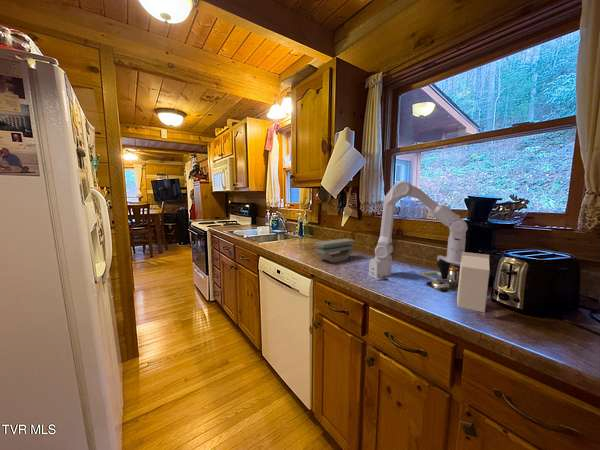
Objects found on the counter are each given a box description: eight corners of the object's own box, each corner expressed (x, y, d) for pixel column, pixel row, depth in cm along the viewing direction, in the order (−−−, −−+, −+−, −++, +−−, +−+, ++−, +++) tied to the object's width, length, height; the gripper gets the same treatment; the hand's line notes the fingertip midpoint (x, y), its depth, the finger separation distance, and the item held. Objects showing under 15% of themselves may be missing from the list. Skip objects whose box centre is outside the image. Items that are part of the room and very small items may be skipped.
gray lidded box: (322, 264, 129) (323, 244, 128) (313, 261, 136) (314, 242, 134) (354, 258, 143) (355, 240, 142) (345, 255, 150) (345, 238, 149)
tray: (435, 284, 102) (436, 278, 101) (420, 278, 109) (420, 272, 109) (451, 282, 104) (452, 276, 104) (435, 276, 112) (436, 271, 112)
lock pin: (453, 287, 94) (454, 269, 93) (445, 284, 98) (446, 267, 97) (459, 286, 95) (461, 269, 94) (451, 283, 99) (453, 266, 98)
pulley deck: (443, 296, 89) (443, 287, 89) (423, 287, 98) (424, 279, 97) (468, 292, 93) (469, 283, 93) (447, 284, 102) (448, 276, 101)
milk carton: (484, 316, 74) (491, 257, 72) (457, 310, 78) (462, 254, 76) (481, 308, 80) (488, 252, 78) (456, 302, 84) (461, 250, 82)
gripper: (481, 252, 89) (478, 287, 91) (447, 244, 103) (444, 275, 104) (468, 253, 87) (464, 289, 89) (434, 245, 101) (431, 276, 102)
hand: (452, 282), depth 96 cm, fingers open, 7 cm apart
